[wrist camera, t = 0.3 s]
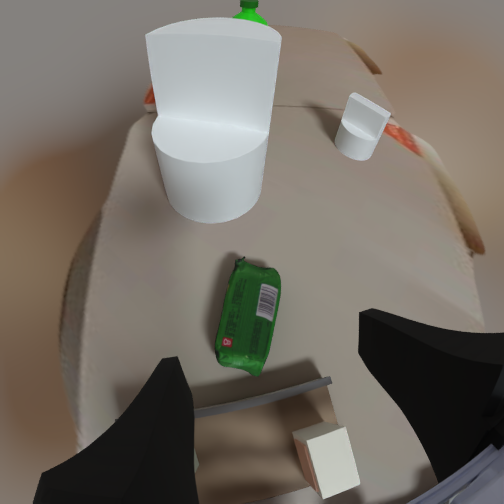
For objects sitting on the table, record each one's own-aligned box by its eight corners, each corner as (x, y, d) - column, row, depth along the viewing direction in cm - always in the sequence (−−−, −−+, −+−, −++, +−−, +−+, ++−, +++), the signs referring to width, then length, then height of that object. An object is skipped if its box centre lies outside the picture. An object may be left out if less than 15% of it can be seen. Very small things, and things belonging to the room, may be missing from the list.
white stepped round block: (187, 145, 56) (175, 16, 31) (270, 161, 55) (291, 25, 30) (150, 210, 48) (104, 63, 23) (247, 234, 47) (263, 71, 22)
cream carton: (323, 421, 33) (345, 426, 26) (337, 470, 29) (360, 484, 22) (290, 432, 32) (304, 441, 25) (304, 481, 29) (320, 499, 21)
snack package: (281, 275, 44) (287, 259, 39) (262, 378, 36) (266, 375, 32) (235, 265, 44) (235, 249, 40) (210, 367, 37) (207, 363, 32)
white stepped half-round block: (327, 143, 59) (341, 99, 48) (345, 128, 62) (360, 88, 51) (361, 166, 56) (381, 123, 46) (377, 149, 60) (396, 109, 49)
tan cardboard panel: (347, 469, 30) (357, 474, 27) (152, 510, 25) (145, 519, 22) (322, 376, 37) (329, 375, 34) (124, 416, 32) (114, 418, 29)
